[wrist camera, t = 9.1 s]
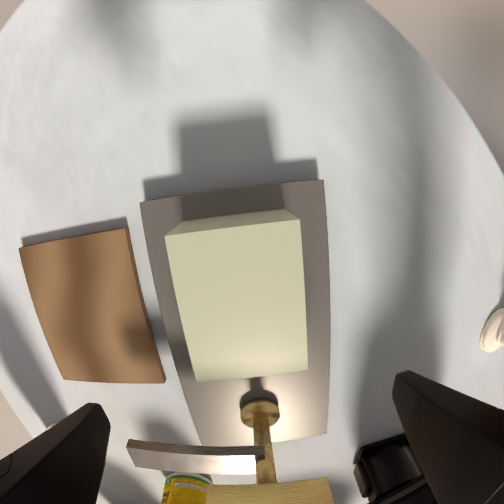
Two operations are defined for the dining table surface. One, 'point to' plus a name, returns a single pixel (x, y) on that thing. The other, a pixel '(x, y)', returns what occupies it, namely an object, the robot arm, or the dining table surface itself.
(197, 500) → the supplement bottle
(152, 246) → the base
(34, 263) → the walnut mat
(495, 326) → the chess piece
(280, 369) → the cover
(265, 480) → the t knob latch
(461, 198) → the dining table surface
